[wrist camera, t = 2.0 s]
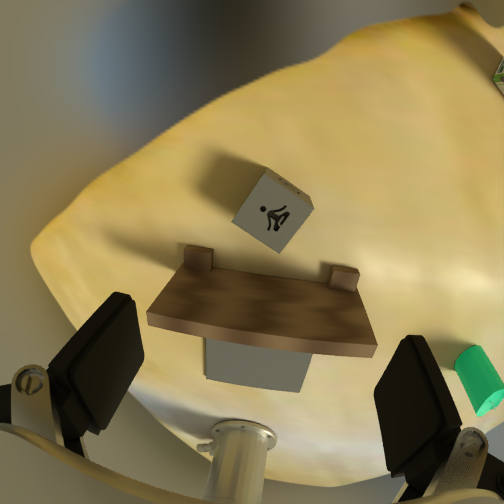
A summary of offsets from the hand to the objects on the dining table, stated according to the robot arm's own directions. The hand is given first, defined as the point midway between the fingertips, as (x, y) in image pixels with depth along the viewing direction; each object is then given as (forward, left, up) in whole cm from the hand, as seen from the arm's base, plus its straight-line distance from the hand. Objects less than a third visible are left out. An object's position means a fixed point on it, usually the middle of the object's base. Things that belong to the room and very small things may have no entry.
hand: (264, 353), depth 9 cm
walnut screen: (-5, -7, -21) cm, 22 cm away
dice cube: (-1, +1, -21) cm, 21 cm away
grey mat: (-12, -16, -21) cm, 29 cm away
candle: (+18, -36, -21) cm, 45 cm away
